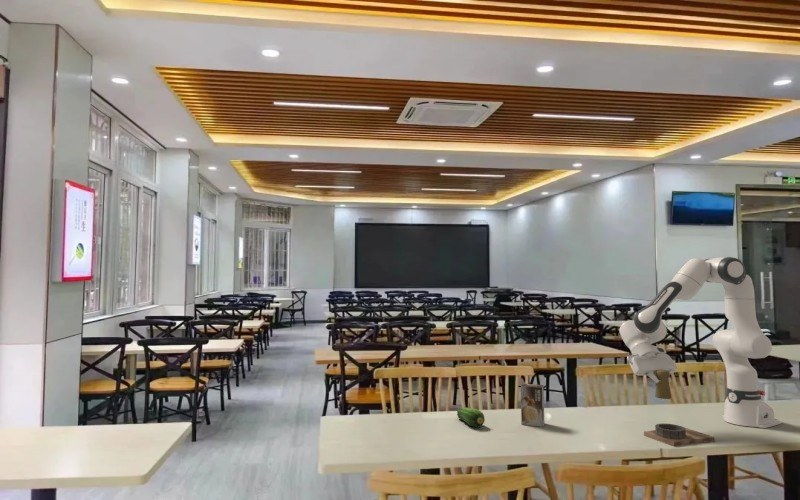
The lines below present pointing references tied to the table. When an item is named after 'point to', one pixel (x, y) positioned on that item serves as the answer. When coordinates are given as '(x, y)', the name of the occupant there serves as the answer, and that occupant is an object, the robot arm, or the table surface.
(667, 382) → the cork
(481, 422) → the vegetable
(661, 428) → the caddy board
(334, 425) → the table surface
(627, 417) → the table surface
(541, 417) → the coffee box
